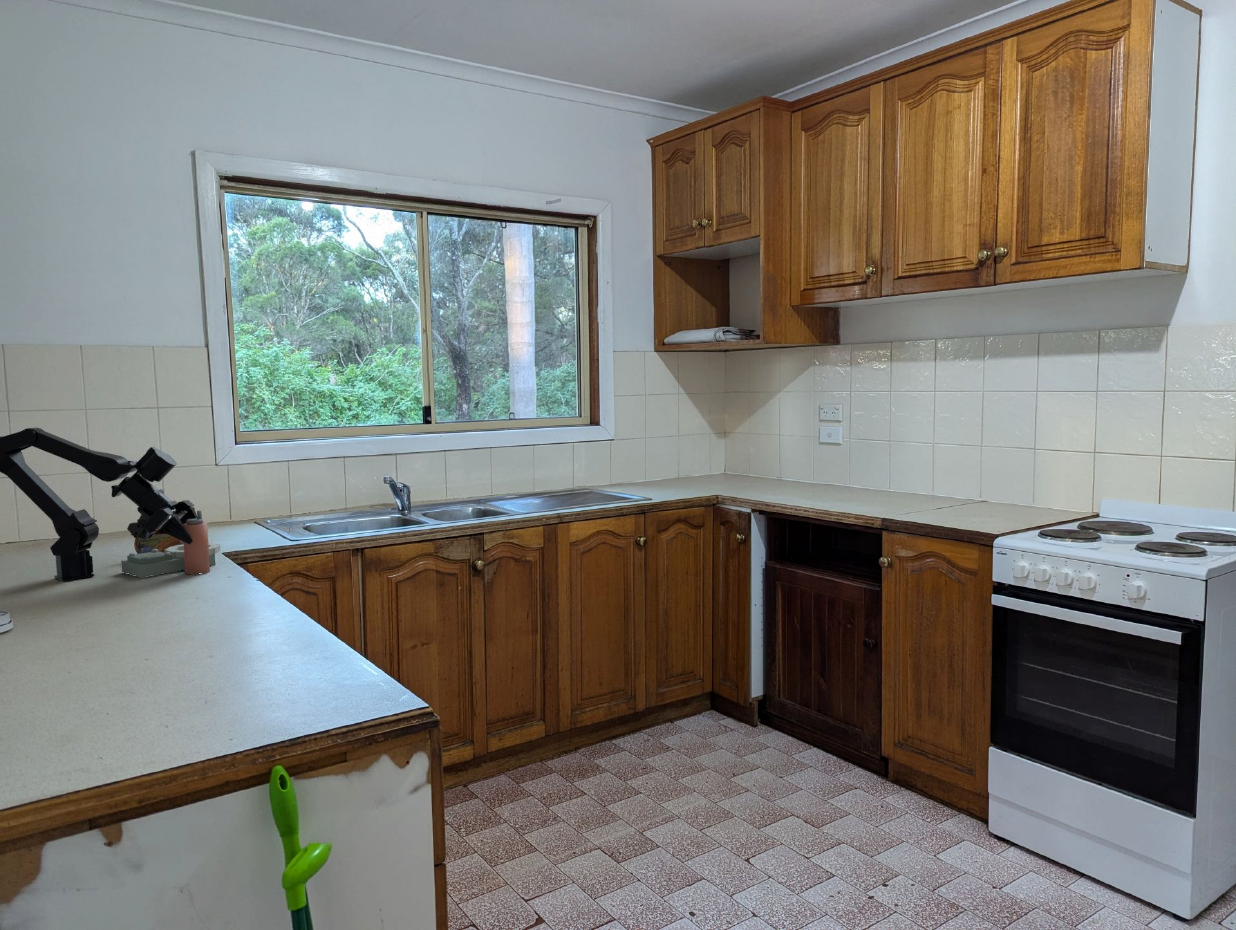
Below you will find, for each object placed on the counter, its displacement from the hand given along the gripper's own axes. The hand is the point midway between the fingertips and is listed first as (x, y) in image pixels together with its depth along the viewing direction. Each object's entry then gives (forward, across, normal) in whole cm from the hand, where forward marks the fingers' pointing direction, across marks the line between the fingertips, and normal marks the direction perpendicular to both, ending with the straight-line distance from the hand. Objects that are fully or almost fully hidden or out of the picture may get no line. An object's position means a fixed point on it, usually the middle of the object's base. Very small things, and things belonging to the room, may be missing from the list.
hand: (197, 539), depth 207 cm
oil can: (+5, 0, -6) cm, 8 cm away
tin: (-5, -23, -17) cm, 29 cm away
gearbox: (0, -7, -11) cm, 13 cm away
